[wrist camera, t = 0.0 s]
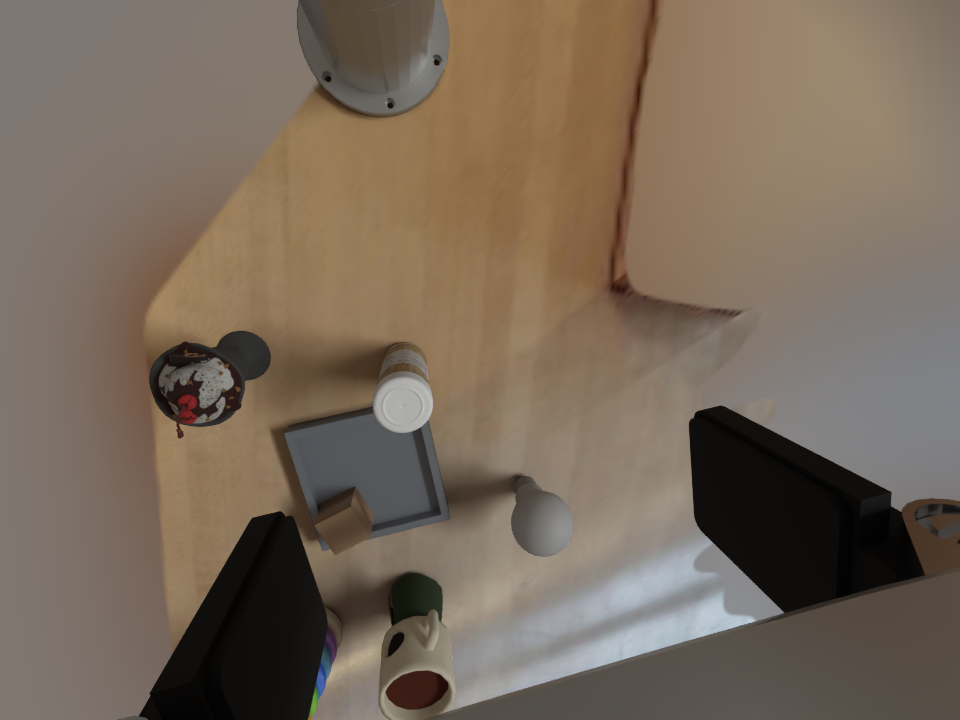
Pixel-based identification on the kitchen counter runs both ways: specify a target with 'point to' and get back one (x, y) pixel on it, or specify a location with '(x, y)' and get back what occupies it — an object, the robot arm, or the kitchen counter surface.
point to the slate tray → (369, 469)
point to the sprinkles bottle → (403, 390)
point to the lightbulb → (540, 519)
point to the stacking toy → (327, 656)
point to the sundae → (207, 378)
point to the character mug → (416, 653)
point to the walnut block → (344, 520)
